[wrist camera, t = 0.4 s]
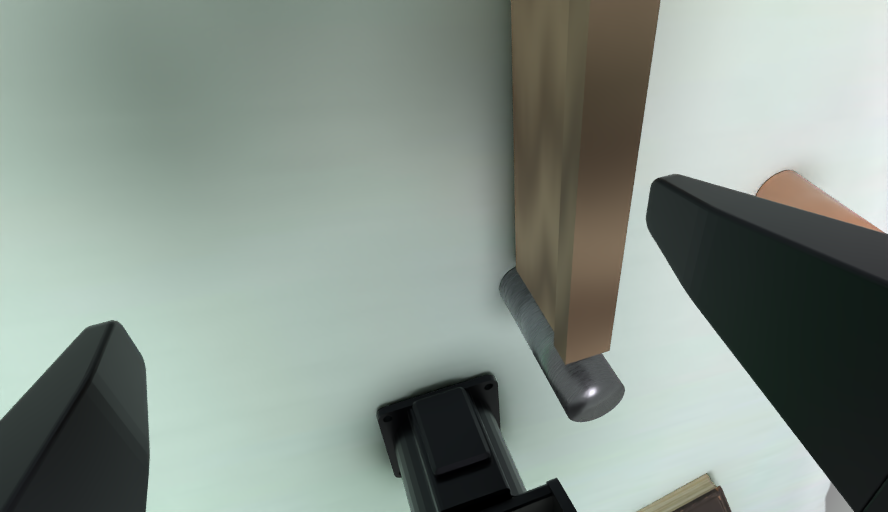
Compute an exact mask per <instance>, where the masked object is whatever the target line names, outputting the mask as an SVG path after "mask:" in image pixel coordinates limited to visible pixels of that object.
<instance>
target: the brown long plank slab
mask: <svg viewBox="0 0 888 512" xmlns="http://www.w3.org/2000/svg"><path fill="white" fill-rule="evenodd" d="M659 7H660V0H511V37H512V90H513V142H514V195H515V247H516V270H517V272H518V273H519V275H520V277H521V278H522V280H523V282H524V283H525V285H526V287H527V288H528V290H529V291H530V293H531V295H532V296H533V298H534V300H535V301H536V303H537V305H538V306H539V308H540V310H541V311H542V313H543V314H544V316H545V318H546V319H547V321H548V323H549V324H550V326H551V328H552V329H553V331H554V347H555V348H556V350H557V352H558V353H559V355H560V357H561V358H562V360H563V362H564V363H565V365H566V364H569V363H572V362H576V361H579V360H582V359H585V358H588V357H591V356H594V355H598V354H601V353H604V352H607V351H609V350H610V343H611V336H612V330H613V323H614V316H615V309H616V302H617V295H618V288H619V281H620V275H621V268H622V261H623V254H624V247H625V240H626V233H627V226H628V220H629V213H630V206H631V199H632V192H633V185H634V178H635V172H636V165H637V158H638V151H639V144H640V137H641V130H642V123H643V117H644V110H645V103H646V96H647V89H648V82H649V75H650V68H651V62H652V55H653V48H654V41H655V34H656V27H657V20H658V13H659Z"/></svg>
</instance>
